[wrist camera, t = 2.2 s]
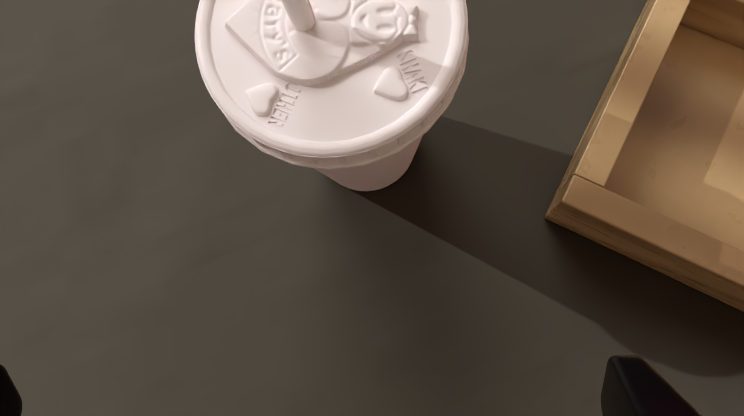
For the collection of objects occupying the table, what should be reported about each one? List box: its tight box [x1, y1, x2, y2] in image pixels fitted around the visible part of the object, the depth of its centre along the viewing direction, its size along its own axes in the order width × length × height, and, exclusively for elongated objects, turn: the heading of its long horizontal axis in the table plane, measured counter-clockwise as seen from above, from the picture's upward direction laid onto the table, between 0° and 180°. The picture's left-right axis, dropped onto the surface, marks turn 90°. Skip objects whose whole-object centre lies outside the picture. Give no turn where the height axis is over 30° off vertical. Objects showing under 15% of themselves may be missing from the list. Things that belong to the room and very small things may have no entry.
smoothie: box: [195, 0, 469, 191], centre depth 17 cm, size 6×6×14 cm
